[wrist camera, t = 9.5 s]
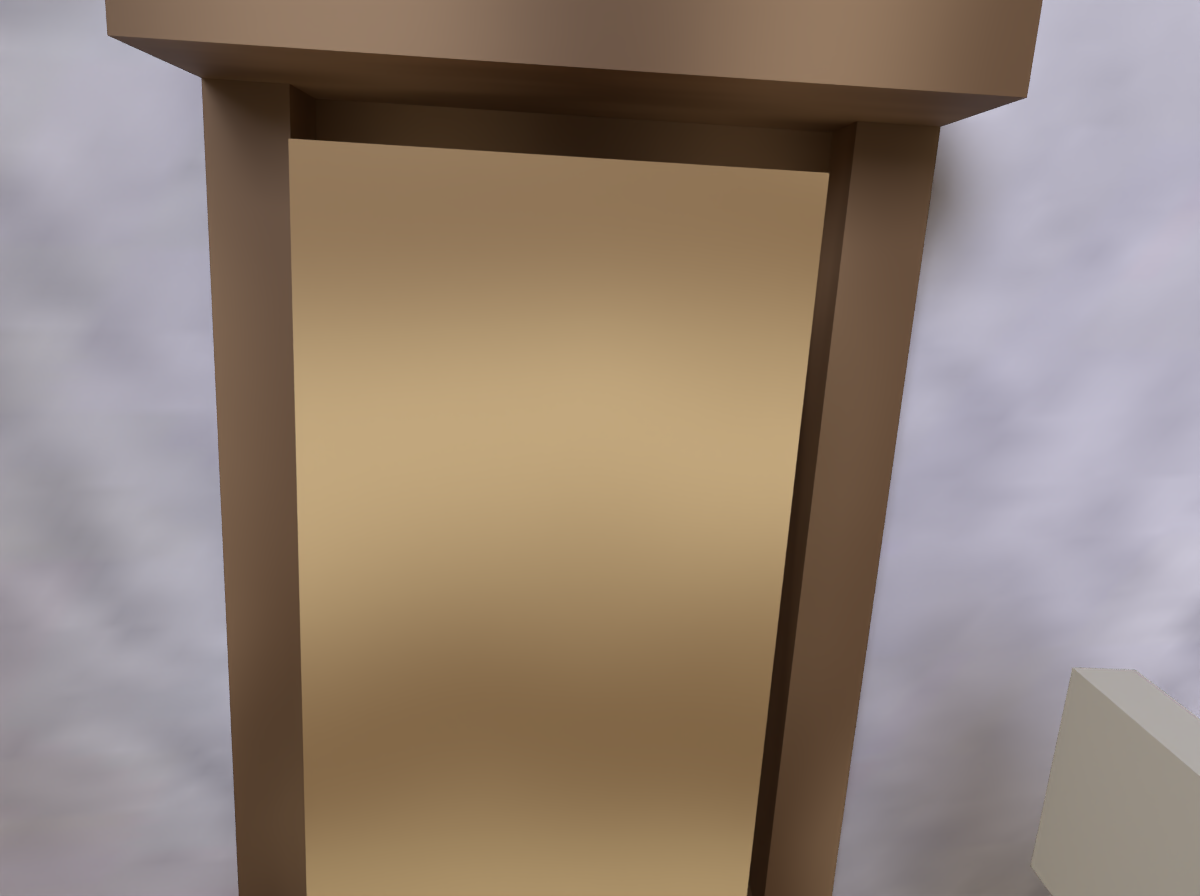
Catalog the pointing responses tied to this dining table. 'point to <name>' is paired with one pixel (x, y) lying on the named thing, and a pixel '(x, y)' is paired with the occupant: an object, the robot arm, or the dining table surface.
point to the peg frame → (609, 131)
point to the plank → (541, 512)
